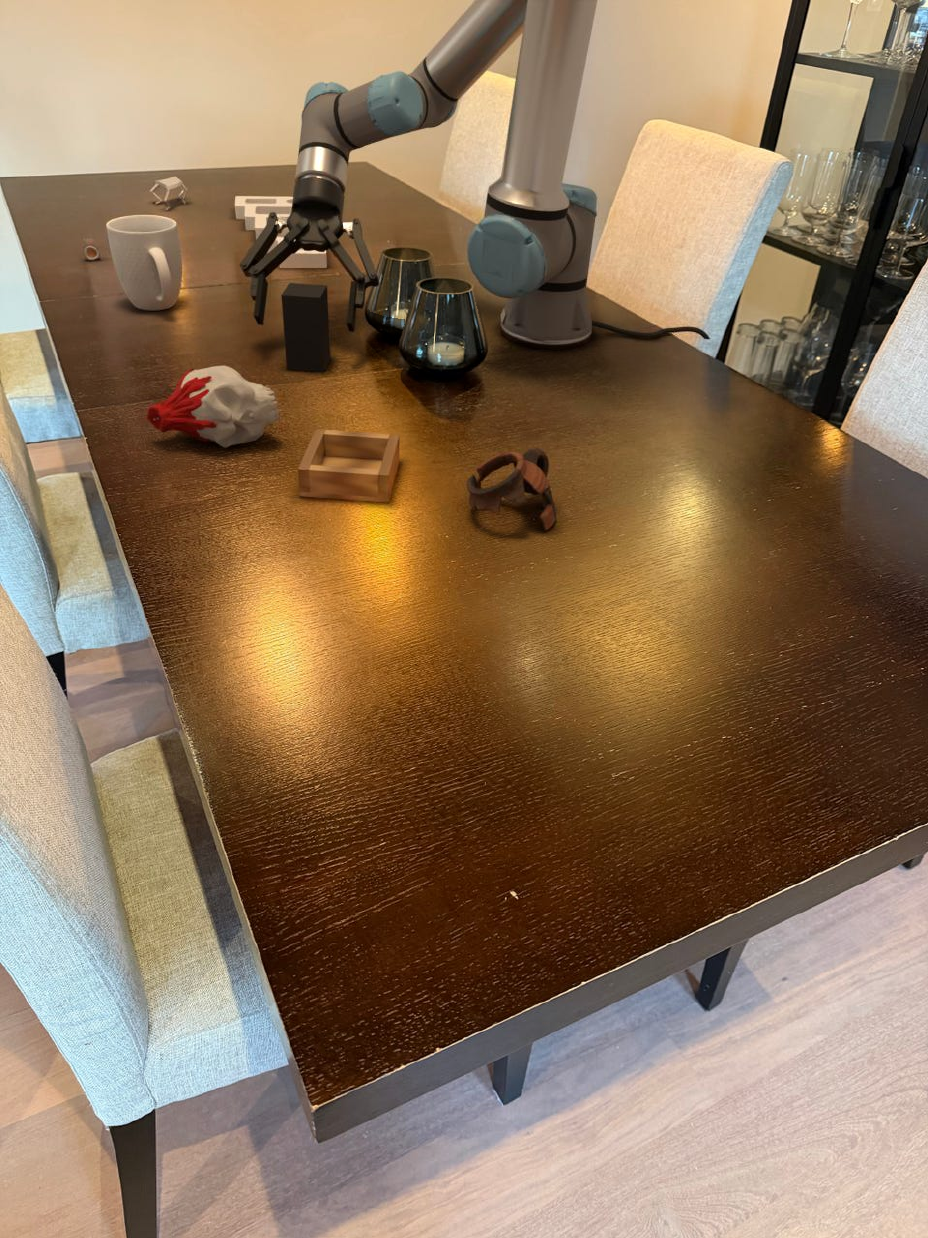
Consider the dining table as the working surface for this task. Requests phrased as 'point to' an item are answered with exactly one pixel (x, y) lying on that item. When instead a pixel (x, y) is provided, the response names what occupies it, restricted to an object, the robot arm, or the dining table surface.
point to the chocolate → (91, 251)
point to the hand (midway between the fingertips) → (304, 324)
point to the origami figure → (169, 184)
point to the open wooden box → (349, 465)
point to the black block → (306, 327)
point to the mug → (147, 259)
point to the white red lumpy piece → (216, 407)
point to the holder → (256, 219)
